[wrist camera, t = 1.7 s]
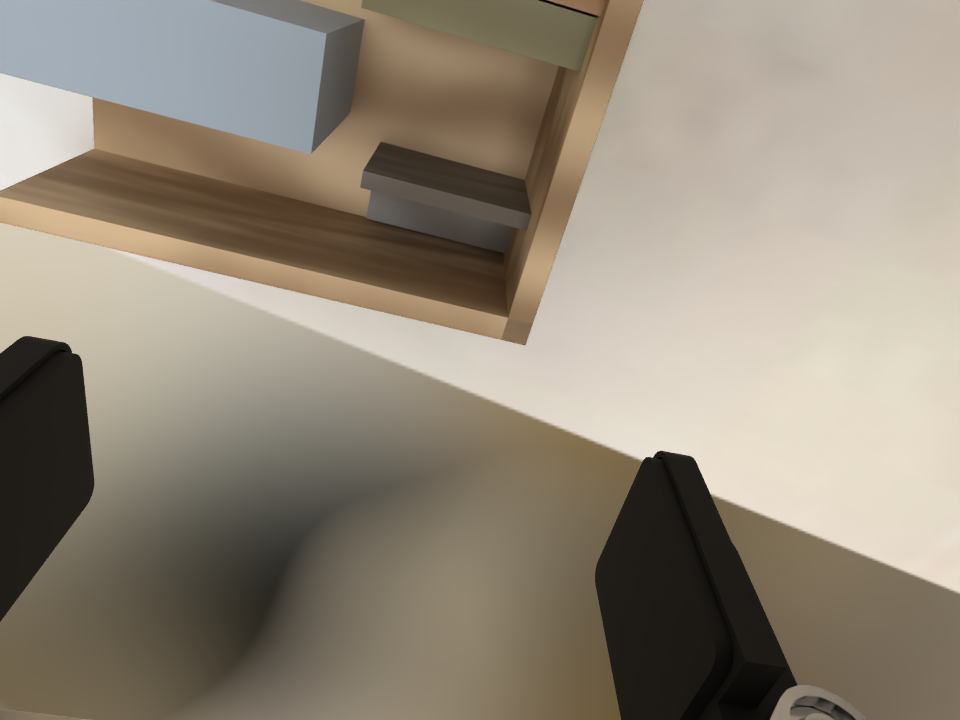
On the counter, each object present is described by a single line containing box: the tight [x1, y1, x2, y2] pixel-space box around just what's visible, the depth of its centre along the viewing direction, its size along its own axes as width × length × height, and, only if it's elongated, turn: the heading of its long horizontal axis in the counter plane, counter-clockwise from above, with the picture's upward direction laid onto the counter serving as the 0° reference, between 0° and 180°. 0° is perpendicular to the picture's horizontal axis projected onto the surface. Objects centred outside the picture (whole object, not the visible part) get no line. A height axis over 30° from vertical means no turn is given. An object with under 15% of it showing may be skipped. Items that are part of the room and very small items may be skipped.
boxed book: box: [0, 0, 365, 154], centre depth 28 cm, size 4×12×9 cm, turn 75°
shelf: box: [0, 0, 644, 345], centre depth 30 cm, size 17×24×10 cm
